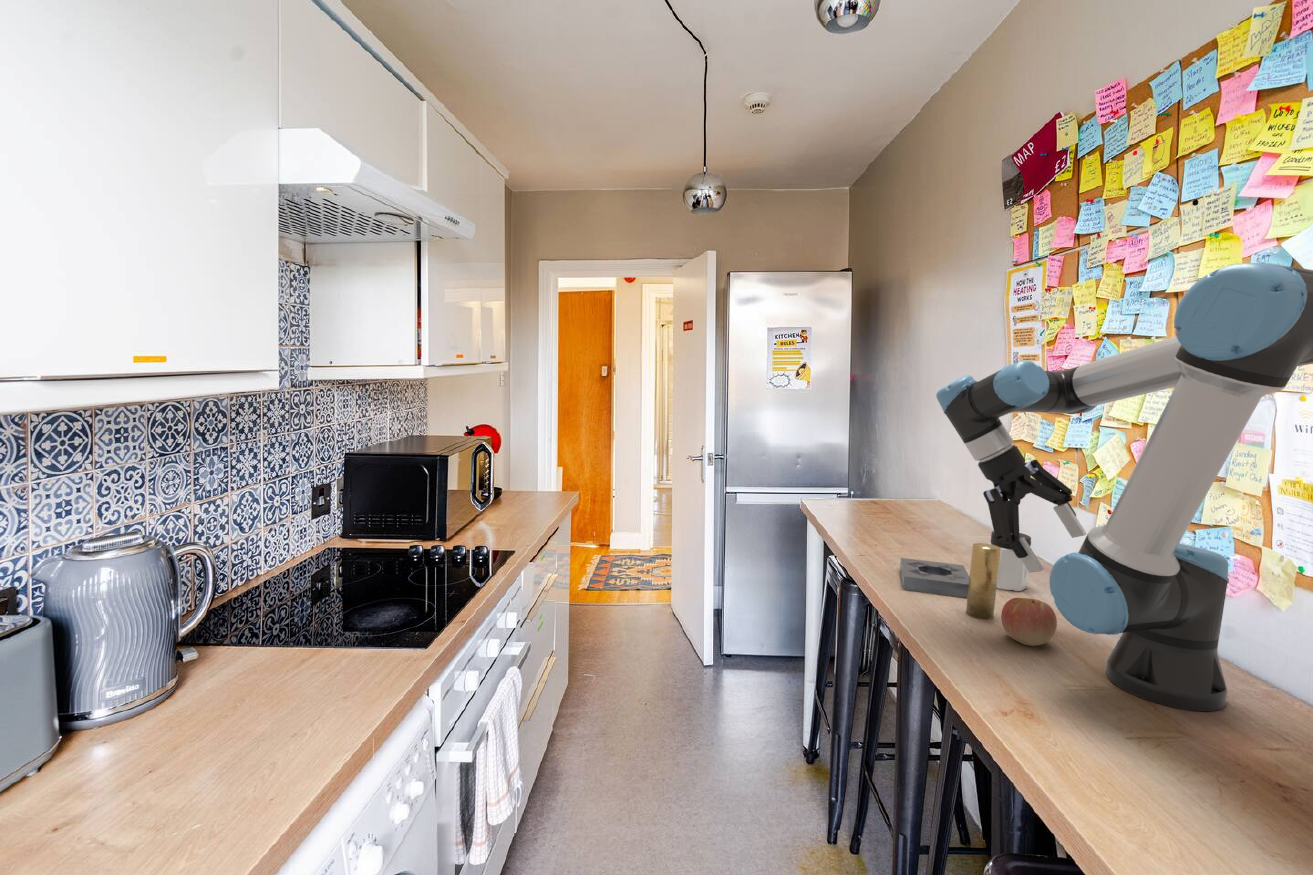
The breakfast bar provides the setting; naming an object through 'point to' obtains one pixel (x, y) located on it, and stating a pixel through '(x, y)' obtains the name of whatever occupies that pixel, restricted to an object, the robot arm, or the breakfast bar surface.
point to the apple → (1029, 621)
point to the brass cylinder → (983, 580)
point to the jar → (1011, 567)
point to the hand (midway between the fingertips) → (1058, 553)
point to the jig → (934, 577)
